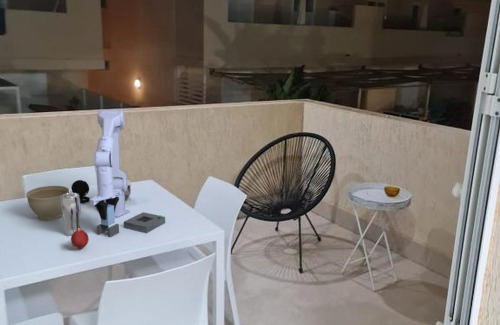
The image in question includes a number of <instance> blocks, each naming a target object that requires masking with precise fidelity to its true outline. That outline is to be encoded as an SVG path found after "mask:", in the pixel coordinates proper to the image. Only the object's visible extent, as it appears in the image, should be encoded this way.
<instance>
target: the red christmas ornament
mask: <svg viewBox="0 0 500 325" xmlns="http://www.w3.org/2000/svg"><path fill="white" fill-rule="evenodd" d="M80 228H81V227H80ZM80 228H78V229H77V231H75V232H74V233H73V235H72V236H70V242H71V245H72V246H73V247H74V248H76V249H78V250H82V249H83V248H85V247H86V246H87V245H88V243H89V241H90V240H89V235H88V233H87V232H86V231H84V230H83V229H80Z"/></svg>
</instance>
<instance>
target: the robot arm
mask: <svg viewBox="0 0 500 325" xmlns="http://www.w3.org/2000/svg"><path fill="white" fill-rule="evenodd" d="M97 123H98V124H99V127H100V129H101V130H102V131H101V136H100V137H99V138H98V140H97V146H96V152H94V153H93V166H94V170H95V173H96V186H97V194H96V195H95V196H94V197H92V198H90V201H89V204H90V206H94V207H95V208H96V210H97V212H98V215H99V217H100V220H101V219H103V220H106V218H107V206H108V204H109V205H114V218H119V217H121V216H124V215H126V214H127V213H130V210H129V209H126V201H125V193H127V191H128V186H129V185H128V176H127V174H126V172H124V171H122V170H121V169H120V168H121V166H120V165H121V163H120V133H121V131H122V130H124V129H125V112H124V109H101V108H100V109H98V111H97Z"/></svg>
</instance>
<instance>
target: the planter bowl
mask: <svg viewBox="0 0 500 325" xmlns="http://www.w3.org/2000/svg"><path fill="white" fill-rule="evenodd" d="M66 193H70V189H69V187H66V186H63V185H62V186H61V185H46V186H45V185H44V186H39V187H37V188H36V187H35V188H33V189H30V190H29V191H27V192H26V193H25V196H26V198H27V203H28V206H29V207H30V209H31V211H32V213H34V214H35V215H36V217H37V218H38V219H39V220H40V221H41V220H42V221H53V220H57V219H60V218H61V217H63V216H62V212H61V197H60V196H61V195H63V194H66Z"/></svg>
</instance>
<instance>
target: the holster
mask: <svg viewBox="0 0 500 325" xmlns="http://www.w3.org/2000/svg"><path fill="white" fill-rule="evenodd" d="M96 230H97V231H96V232H97V235H102V234H104V233H106V232H107V237H108V238H112V237H114V236H115V235H118V234H120V224H119V223H114V224H112V225H109V226H106V225H102V224H101V223H100V224H97V225H96Z"/></svg>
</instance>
